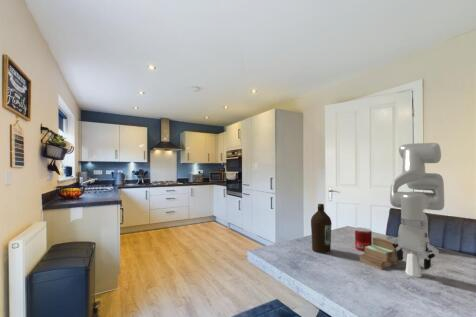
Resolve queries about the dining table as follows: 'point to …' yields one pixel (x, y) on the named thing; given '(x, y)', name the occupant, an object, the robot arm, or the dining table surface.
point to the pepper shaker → (413, 264)
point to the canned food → (363, 238)
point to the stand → (380, 254)
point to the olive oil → (321, 231)
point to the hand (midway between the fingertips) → (413, 264)
